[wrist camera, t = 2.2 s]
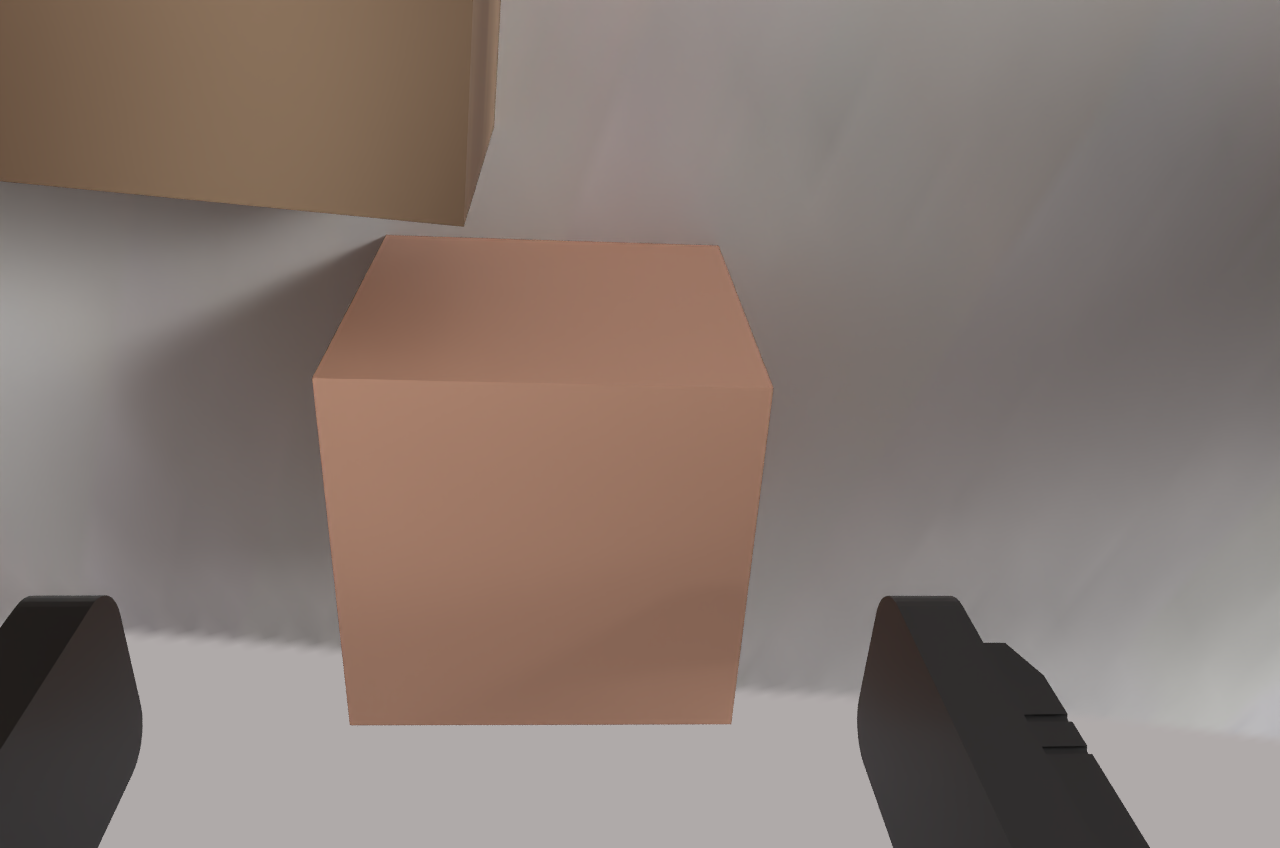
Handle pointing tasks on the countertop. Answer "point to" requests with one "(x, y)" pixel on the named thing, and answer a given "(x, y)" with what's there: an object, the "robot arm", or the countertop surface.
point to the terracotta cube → (542, 482)
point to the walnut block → (254, 101)
